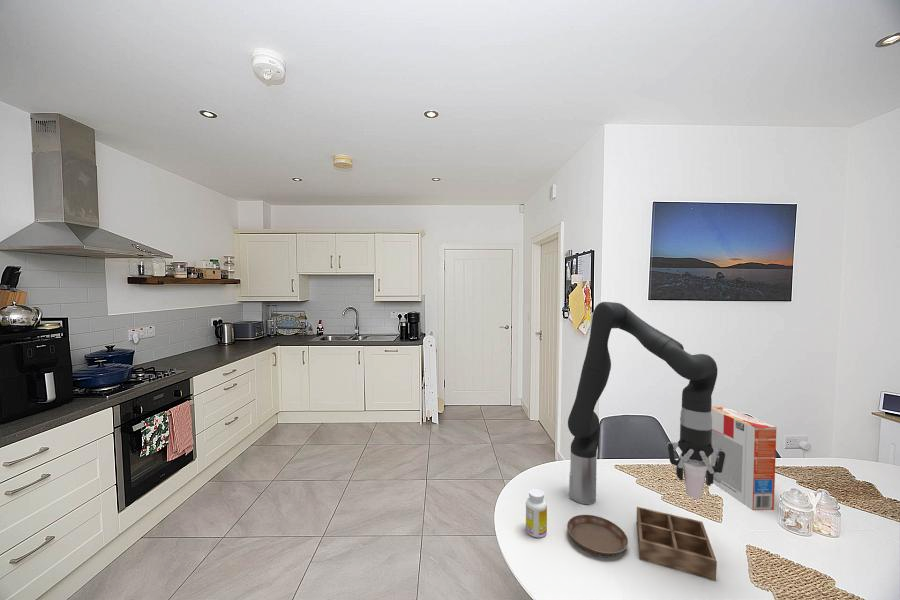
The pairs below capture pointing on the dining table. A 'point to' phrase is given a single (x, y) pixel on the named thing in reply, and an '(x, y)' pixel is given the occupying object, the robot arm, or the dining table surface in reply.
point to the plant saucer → (597, 535)
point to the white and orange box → (745, 457)
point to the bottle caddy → (675, 543)
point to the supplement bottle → (536, 514)
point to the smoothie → (694, 477)
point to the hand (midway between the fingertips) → (694, 481)
